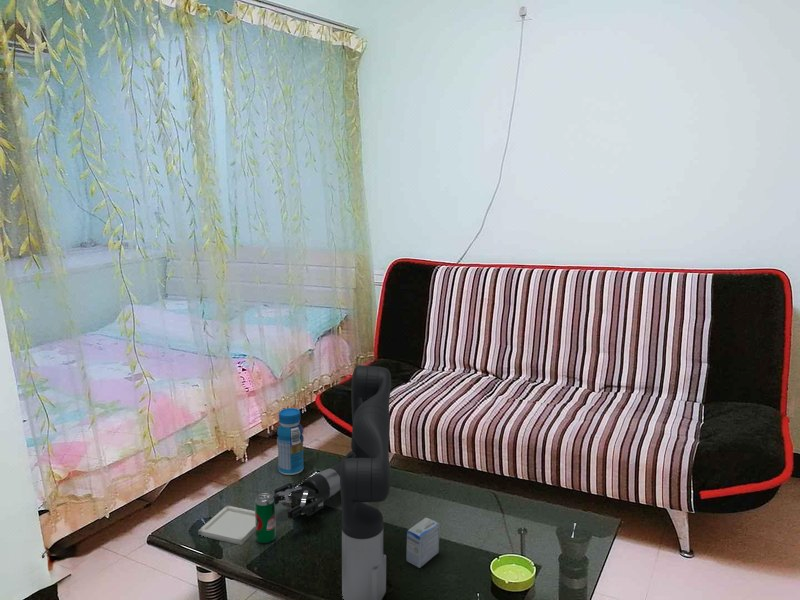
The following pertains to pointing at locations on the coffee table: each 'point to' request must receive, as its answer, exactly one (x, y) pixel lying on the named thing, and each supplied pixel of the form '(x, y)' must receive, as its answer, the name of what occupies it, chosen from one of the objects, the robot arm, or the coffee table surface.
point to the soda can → (265, 518)
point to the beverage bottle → (290, 442)
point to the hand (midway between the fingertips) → (277, 509)
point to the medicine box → (422, 542)
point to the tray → (230, 525)
